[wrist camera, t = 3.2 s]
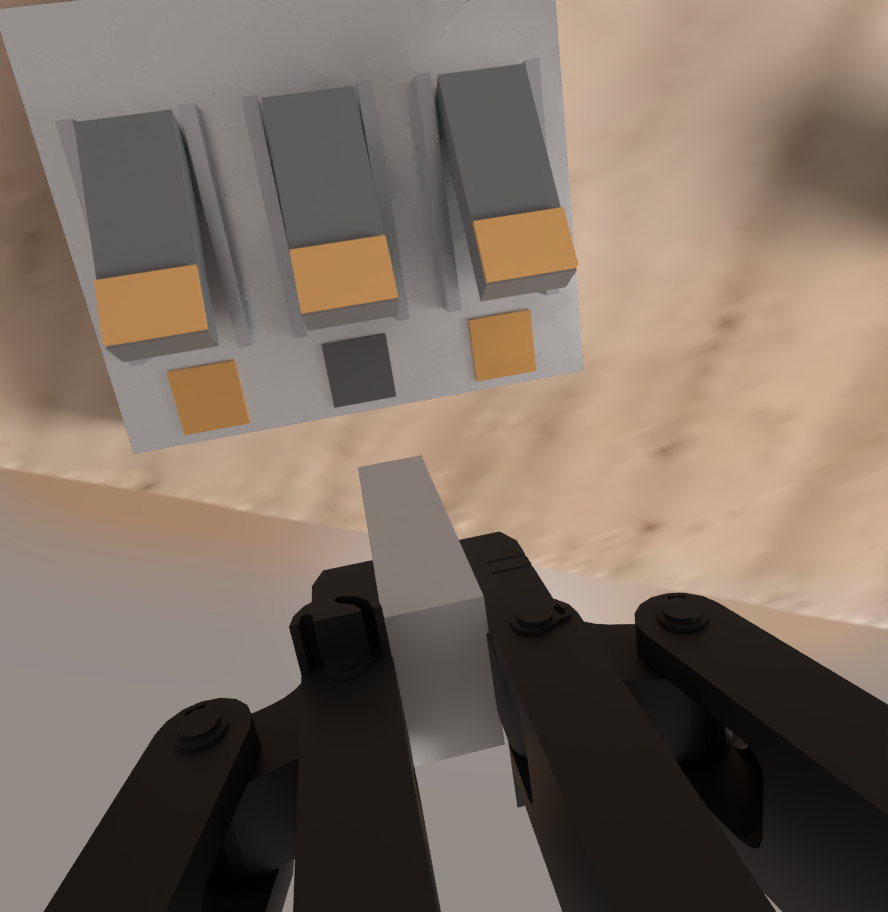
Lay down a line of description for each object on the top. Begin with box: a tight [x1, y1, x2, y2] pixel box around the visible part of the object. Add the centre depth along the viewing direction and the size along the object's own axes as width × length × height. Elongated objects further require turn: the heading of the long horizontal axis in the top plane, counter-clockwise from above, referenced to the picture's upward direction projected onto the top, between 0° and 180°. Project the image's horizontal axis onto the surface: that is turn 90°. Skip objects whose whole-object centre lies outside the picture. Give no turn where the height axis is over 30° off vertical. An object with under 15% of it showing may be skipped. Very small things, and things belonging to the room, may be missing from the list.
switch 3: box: [435, 63, 578, 302], centre depth 28 cm, size 9×4×2 cm, turn 8°
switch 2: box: [261, 86, 398, 331], centre depth 27 cm, size 9×4×2 cm, turn 8°
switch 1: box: [74, 109, 219, 362], centre depth 26 cm, size 9×4×2 cm, turn 8°
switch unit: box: [0, 0, 583, 454], centre depth 32 cm, size 18×22×6 cm
